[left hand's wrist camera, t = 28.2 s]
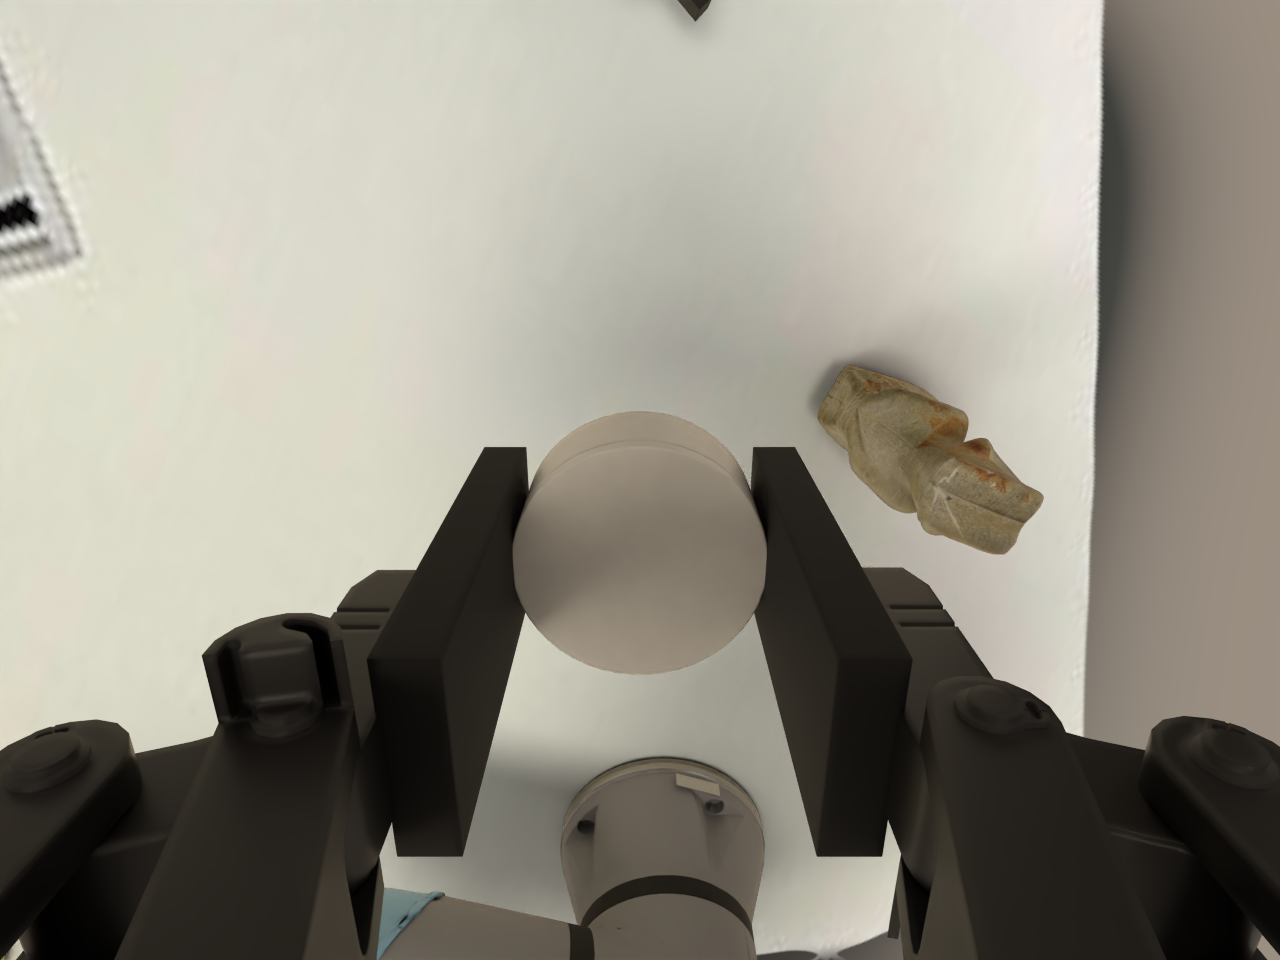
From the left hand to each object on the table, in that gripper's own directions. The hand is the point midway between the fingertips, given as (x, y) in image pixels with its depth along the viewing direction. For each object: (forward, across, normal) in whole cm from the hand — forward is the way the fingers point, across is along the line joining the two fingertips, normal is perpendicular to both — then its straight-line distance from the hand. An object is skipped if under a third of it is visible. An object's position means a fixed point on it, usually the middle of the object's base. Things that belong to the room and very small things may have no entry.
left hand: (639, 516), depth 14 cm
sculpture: (+32, -14, +7) cm, 36 cm away
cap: (-2, 0, 0) cm, 2 cm away
